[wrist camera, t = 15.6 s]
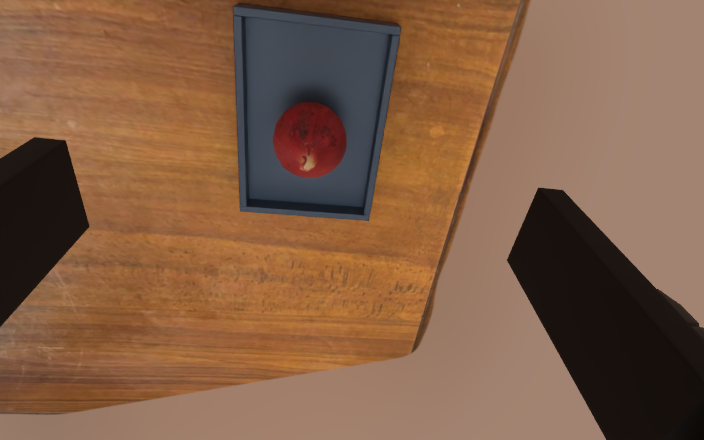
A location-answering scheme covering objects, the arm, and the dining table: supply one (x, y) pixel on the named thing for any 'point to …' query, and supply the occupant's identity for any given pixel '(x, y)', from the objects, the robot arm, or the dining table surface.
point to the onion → (309, 140)
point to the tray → (310, 86)
